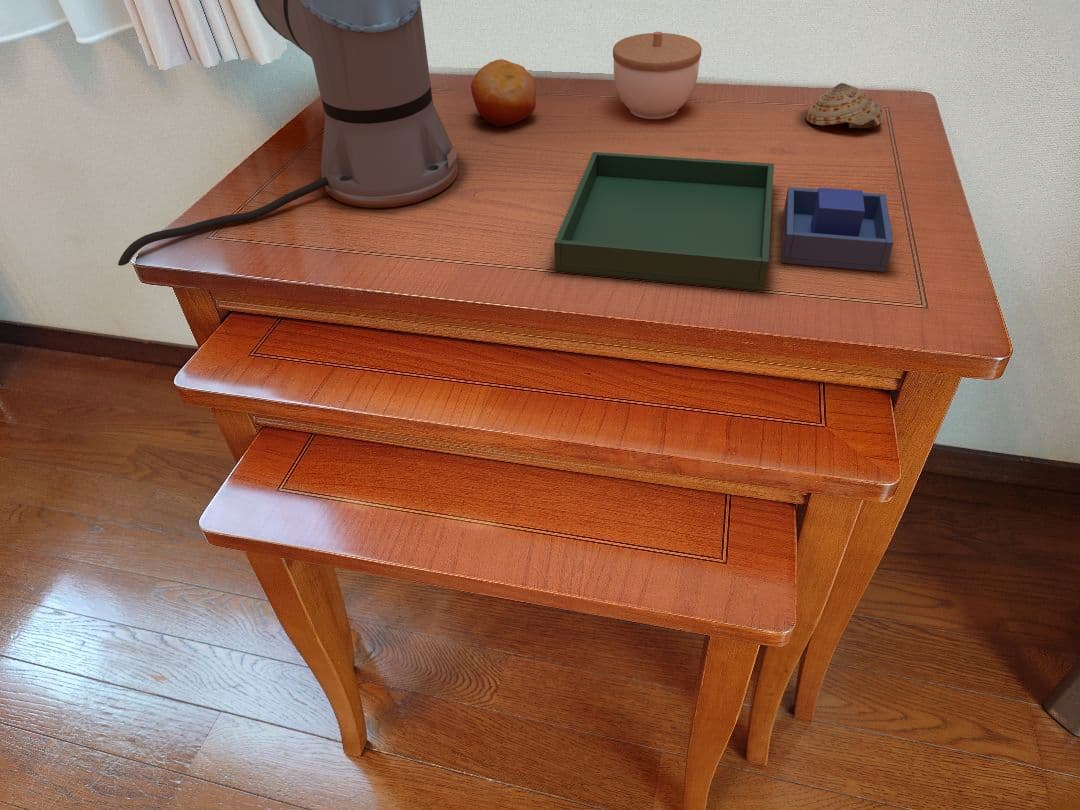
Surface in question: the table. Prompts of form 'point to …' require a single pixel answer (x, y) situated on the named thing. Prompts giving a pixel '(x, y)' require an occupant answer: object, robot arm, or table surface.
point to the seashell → (845, 108)
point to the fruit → (503, 93)
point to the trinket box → (655, 72)
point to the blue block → (838, 212)
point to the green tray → (670, 221)
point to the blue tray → (836, 249)
